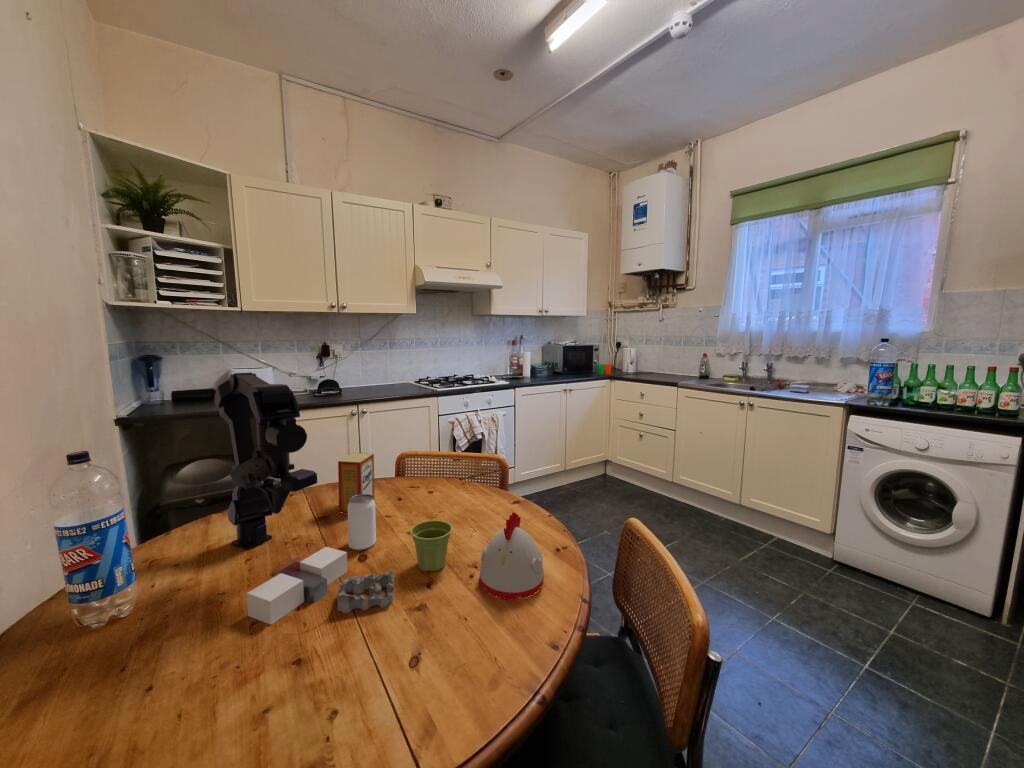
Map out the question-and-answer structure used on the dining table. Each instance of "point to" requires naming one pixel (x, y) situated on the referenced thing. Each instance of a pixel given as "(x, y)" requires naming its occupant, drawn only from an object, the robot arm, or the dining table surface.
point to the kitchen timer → (511, 563)
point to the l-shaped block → (305, 580)
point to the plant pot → (431, 543)
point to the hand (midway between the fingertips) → (276, 513)
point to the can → (361, 522)
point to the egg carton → (358, 586)
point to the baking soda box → (355, 477)
